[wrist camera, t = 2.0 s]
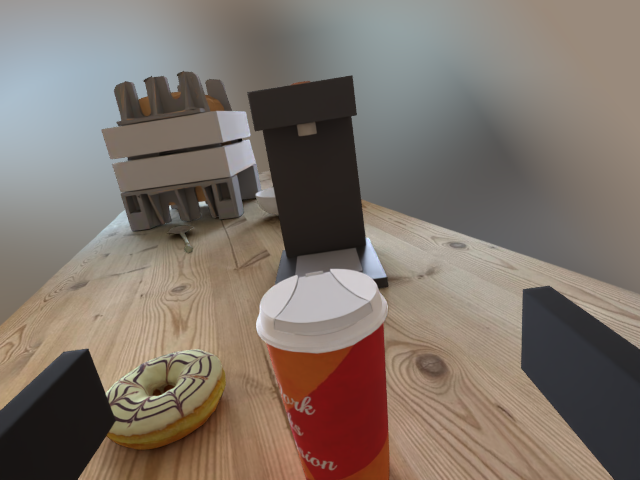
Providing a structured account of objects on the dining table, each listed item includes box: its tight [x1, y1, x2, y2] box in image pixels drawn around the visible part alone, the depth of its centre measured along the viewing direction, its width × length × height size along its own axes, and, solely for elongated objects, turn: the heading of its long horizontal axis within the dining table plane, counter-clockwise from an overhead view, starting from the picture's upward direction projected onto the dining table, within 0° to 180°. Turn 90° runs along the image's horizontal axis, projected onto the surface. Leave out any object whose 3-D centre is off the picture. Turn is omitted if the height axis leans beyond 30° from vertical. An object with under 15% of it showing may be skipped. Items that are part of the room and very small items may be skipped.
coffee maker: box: [248, 76, 388, 288], centre depth 56 cm, size 18×16×29 cm
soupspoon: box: [167, 225, 193, 253], centre depth 91 cm, size 22×3×7 cm
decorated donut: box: [105, 349, 226, 450], centre depth 34 cm, size 10×11×4 cm
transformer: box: [102, 71, 261, 231], centre depth 118 cm, size 34×33×41 cm
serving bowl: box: [255, 187, 279, 215], centre depth 102 cm, size 21×21×7 cm
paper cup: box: [256, 269, 389, 480], centre depth 24 cm, size 8×8×14 cm
